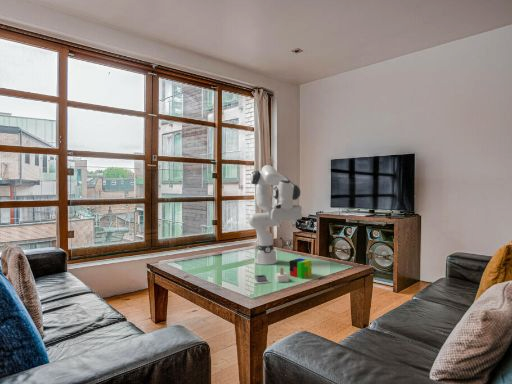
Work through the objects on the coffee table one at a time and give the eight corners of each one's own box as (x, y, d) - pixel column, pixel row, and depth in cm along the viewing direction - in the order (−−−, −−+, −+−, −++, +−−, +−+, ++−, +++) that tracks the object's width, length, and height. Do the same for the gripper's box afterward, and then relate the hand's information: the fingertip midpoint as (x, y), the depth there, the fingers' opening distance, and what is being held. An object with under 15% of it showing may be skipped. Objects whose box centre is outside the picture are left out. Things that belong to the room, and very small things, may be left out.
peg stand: (274, 279, 212) (274, 266, 212) (285, 278, 213) (285, 266, 213) (277, 282, 205) (277, 269, 205) (288, 281, 206) (288, 268, 206)
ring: (255, 279, 211) (255, 275, 211) (264, 278, 212) (264, 274, 212) (257, 282, 205) (257, 278, 205) (266, 281, 206) (266, 277, 206)
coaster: (251, 279, 212) (251, 278, 212) (266, 278, 214) (266, 277, 214) (254, 284, 203) (254, 283, 203) (270, 282, 205) (270, 281, 204)
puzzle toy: (300, 272, 226) (299, 258, 226) (311, 275, 218) (311, 260, 218) (290, 275, 219) (289, 260, 219) (301, 278, 212) (301, 263, 212)
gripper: (300, 204, 219) (300, 225, 219) (269, 205, 215) (270, 227, 215) (303, 205, 213) (303, 226, 213) (272, 206, 209) (272, 228, 209)
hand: (286, 226), depth 214 cm, fingers open, 8 cm apart
